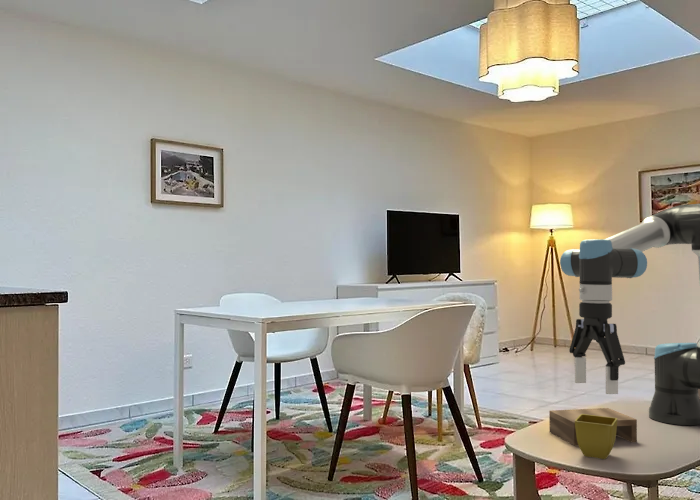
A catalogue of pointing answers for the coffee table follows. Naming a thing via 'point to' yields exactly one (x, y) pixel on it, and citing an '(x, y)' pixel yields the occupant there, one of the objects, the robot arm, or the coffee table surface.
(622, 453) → the coffee table surface
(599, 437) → the flower pot
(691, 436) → the coffee table surface
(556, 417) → the walnut shelf
